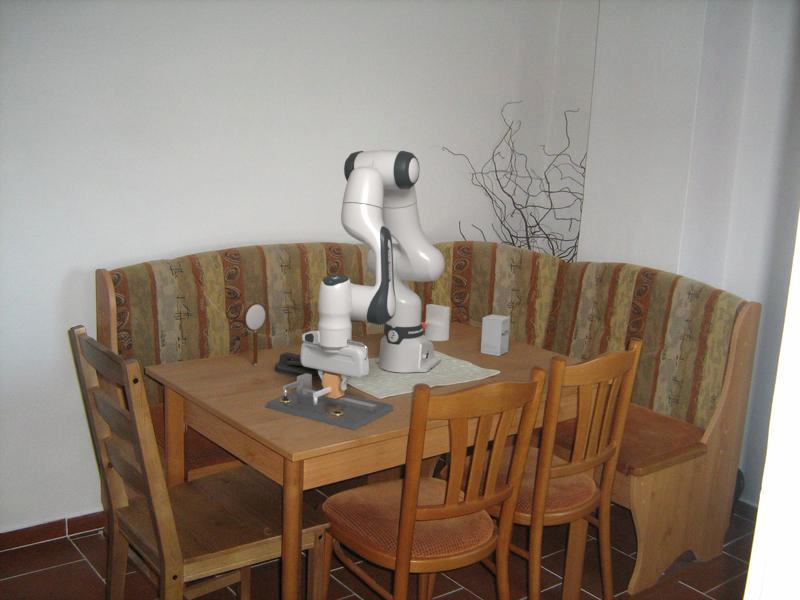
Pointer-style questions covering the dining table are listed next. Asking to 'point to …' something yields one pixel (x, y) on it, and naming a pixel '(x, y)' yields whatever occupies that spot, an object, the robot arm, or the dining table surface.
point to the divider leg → (330, 387)
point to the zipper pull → (293, 366)
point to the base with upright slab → (437, 322)
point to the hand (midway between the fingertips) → (334, 387)
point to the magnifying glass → (255, 323)
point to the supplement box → (495, 335)
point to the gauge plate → (328, 405)
